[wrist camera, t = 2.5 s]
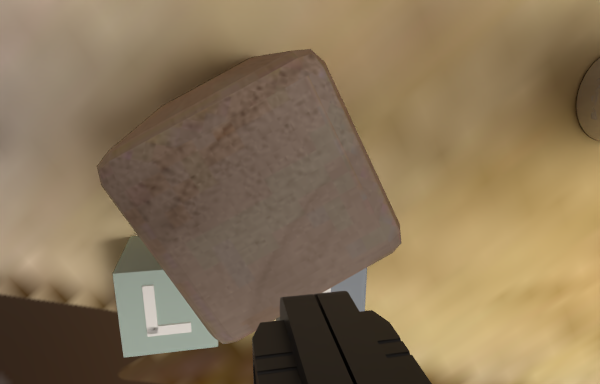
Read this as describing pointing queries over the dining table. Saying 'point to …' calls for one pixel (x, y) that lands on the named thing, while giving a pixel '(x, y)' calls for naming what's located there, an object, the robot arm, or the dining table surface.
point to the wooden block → (253, 191)
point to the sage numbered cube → (153, 307)
